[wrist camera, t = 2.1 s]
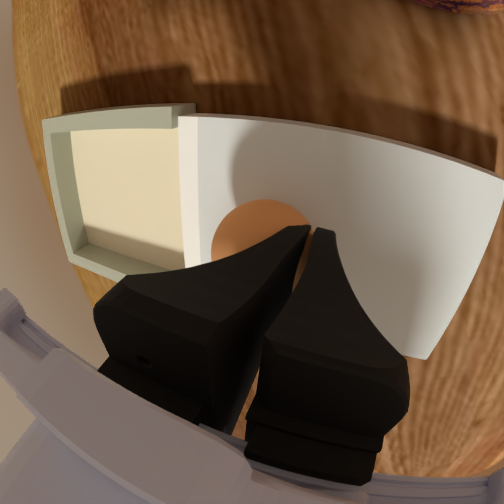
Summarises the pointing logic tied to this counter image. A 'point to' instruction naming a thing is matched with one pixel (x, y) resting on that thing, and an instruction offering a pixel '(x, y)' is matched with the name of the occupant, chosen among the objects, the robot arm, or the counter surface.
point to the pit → (118, 187)
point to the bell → (465, 6)
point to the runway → (350, 210)
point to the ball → (257, 229)
